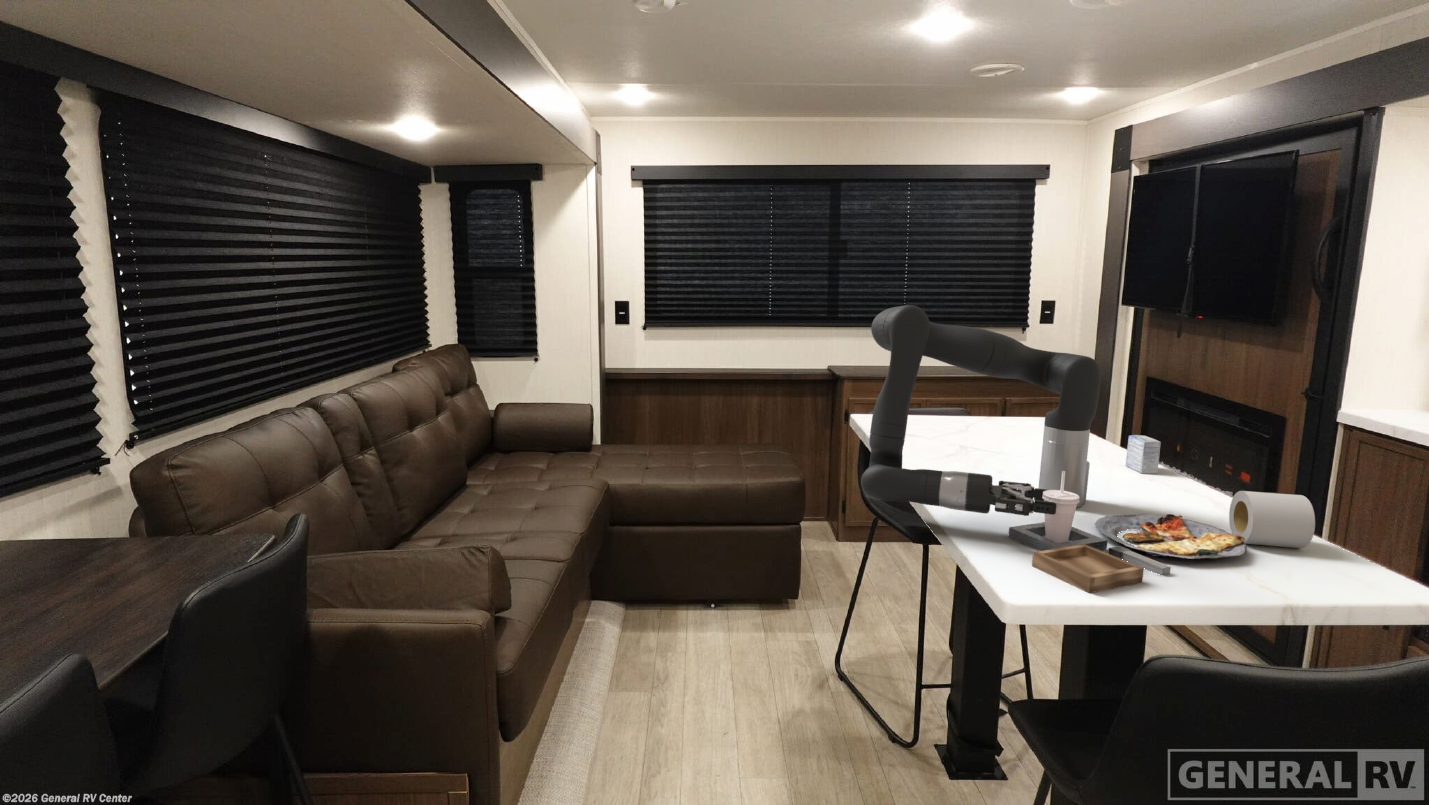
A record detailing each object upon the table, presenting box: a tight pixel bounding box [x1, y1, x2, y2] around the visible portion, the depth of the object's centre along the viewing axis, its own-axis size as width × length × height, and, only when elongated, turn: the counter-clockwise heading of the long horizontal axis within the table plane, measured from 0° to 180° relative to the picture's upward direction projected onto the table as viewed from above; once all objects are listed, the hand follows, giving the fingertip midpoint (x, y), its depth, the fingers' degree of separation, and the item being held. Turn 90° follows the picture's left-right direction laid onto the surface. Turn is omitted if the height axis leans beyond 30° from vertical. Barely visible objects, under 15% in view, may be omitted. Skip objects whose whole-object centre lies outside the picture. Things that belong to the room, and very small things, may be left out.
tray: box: [1031, 544, 1145, 594], centre depth 129 cm, size 12×12×2 cm
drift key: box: [1107, 545, 1172, 576], centre depth 134 cm, size 10×3×2 cm, turn 22°
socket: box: [1007, 521, 1108, 552], centre depth 144 cm, size 12×12×2 cm
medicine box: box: [1125, 434, 1162, 475], centre depth 200 cm, size 8×4×9 cm, turn 179°
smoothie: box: [1042, 471, 1080, 543], centre depth 143 cm, size 6×6×14 cm
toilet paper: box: [1228, 490, 1316, 549], centre depth 145 cm, size 10×10×10 cm
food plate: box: [1094, 513, 1248, 560], centre depth 145 cm, size 25×23×4 cm
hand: (1055, 502), depth 143 cm, fingers open, 8 cm apart
